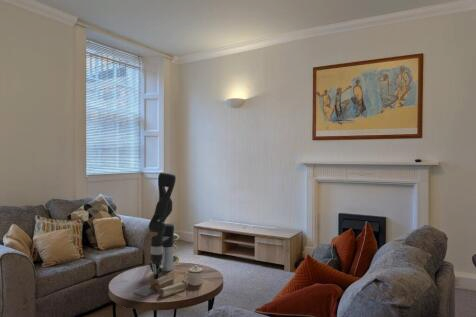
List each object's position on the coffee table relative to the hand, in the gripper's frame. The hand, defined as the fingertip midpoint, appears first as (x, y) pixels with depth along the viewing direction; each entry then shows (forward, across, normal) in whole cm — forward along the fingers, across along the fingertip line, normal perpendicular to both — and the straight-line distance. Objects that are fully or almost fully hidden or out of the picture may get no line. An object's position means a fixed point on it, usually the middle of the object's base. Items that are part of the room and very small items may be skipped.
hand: (156, 279), depth 214 cm
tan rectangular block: (+4, +6, 0) cm, 7 cm away
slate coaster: (+4, +5, -12) cm, 13 cm away
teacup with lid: (+4, +15, +18) cm, 24 cm away
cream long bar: (+4, +17, 0) cm, 17 cm away
